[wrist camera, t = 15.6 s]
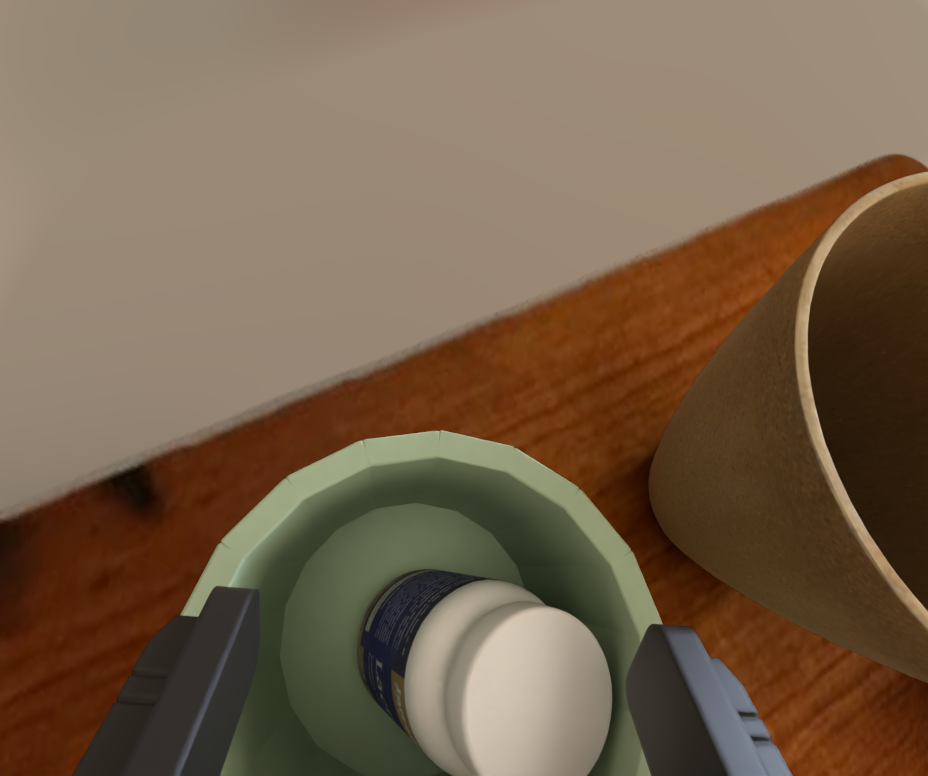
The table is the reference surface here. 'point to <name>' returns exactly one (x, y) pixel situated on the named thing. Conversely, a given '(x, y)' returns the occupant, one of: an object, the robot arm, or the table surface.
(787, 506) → the plant pot
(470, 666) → the pill bottle
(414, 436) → the tin
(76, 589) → the table surface
